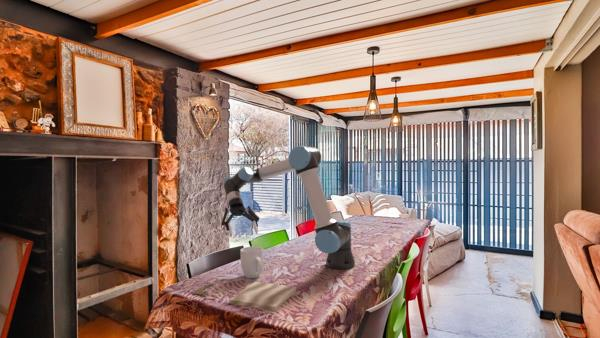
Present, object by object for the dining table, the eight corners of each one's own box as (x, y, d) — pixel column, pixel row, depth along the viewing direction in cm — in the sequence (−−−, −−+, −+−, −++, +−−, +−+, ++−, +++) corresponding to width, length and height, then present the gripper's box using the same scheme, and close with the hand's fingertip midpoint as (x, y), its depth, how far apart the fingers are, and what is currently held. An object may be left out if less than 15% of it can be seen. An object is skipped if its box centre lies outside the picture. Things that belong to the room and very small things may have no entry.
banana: (187, 300, 133) (187, 295, 133) (206, 282, 153) (206, 278, 153) (208, 297, 132) (208, 292, 132) (225, 280, 152) (224, 276, 153)
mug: (271, 279, 151) (271, 251, 151) (250, 284, 145) (249, 255, 145) (257, 270, 164) (257, 245, 163) (237, 275, 158) (236, 248, 157)
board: (296, 290, 137) (296, 286, 137) (275, 310, 118) (275, 306, 118) (255, 284, 144) (255, 281, 144) (229, 303, 126) (229, 299, 126)
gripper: (255, 203, 186) (265, 235, 173) (211, 207, 174) (218, 241, 161) (258, 195, 181) (268, 226, 168) (213, 198, 169) (221, 232, 156)
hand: (244, 233), depth 164 cm, fingers open, 13 cm apart
